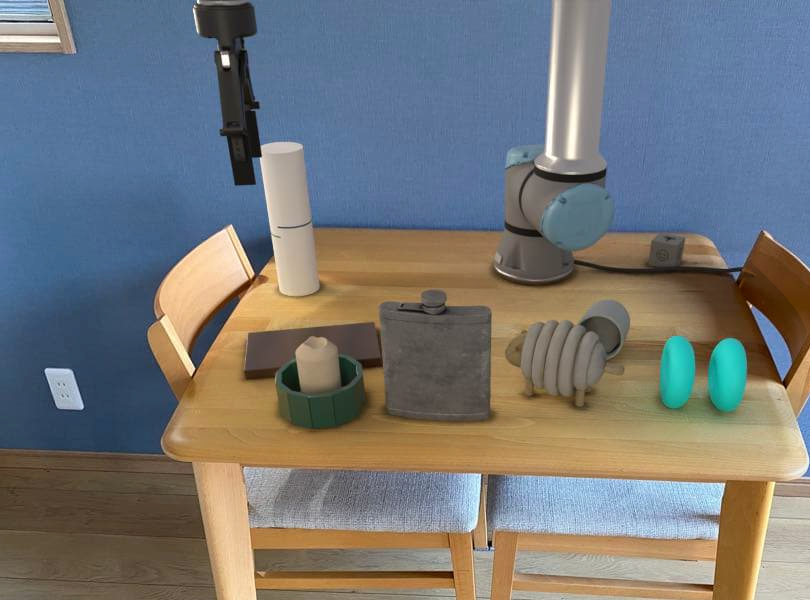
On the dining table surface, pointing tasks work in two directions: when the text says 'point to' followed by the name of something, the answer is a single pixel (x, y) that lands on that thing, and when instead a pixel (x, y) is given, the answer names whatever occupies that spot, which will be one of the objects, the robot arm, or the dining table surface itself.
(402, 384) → the flask
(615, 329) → the ceramic mug
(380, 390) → the dining table surface
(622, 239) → the dining table surface
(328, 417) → the segmented bracelet
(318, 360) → the candle
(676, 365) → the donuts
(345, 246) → the dining table surface
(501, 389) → the dining table surface
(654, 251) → the grey engraved cube
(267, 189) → the cylindrical container
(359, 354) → the walnut board
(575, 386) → the toy sheep
